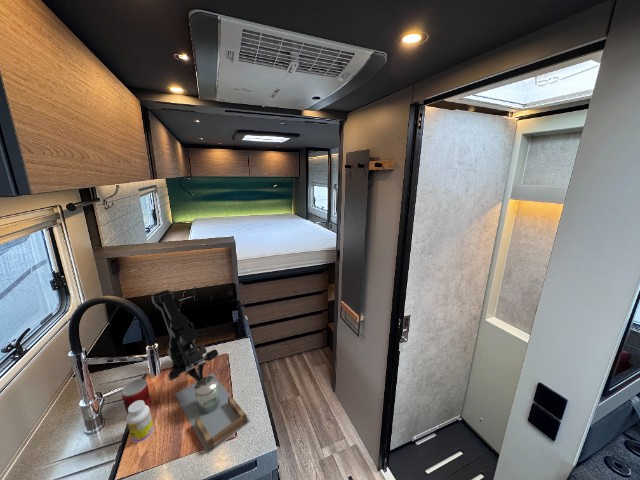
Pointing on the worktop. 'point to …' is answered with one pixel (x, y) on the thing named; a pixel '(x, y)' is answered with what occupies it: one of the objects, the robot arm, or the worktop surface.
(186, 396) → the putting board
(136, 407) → the supplement bottle
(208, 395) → the tea tin
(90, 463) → the worktop surface
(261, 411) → the worktop surface
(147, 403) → the canned food
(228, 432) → the walnut pocket
